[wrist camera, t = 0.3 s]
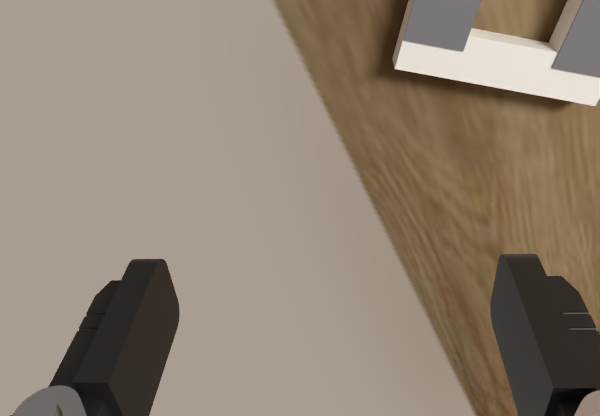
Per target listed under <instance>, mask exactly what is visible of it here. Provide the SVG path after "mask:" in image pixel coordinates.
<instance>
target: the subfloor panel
mask: <svg viewBox="0 0 600 416" xmlns="http://www.w3.org/2000/svg"><path fill="white" fill-rule="evenodd" d="M480 3H481V0H408V3H407V7H406V11H405V14H404V18H403V22H402V25H401V29H400V33H399V36H398V40H397V43H396V47H395V51H394V54H393V58H392V59H393V63H394V68H395V69H398V70H403V71H409V72H414V73H419V74H425V75H430V76H436V77H441V78H446V79H452V80H457V81H463V82H468V83H473V84H479V85H484V86H490V87H495V88H500V89H506V90H511V91H517V92H522V93H527V94H533V95H538V96H544V97H549V98H554V99H560V100H565V101H571V102H576V103H581V104H587V105H592V106H596V104H597V102H598V100H599V98H600V0H567V2H566V4H565V7H564V9H563V11H562V14H561V16H560V18H559V20H558V23H557V25H556V27H555V29H554V32H553V34H552V36H551V38H550V41H549V43H547V42H542V41H537V40H532V39H526V38H521V37H516V36H511V35H505V34H500V33H495V32H489V31H484V30H479V29H474V28H472V25H473V23H474V20H475V17H476V14H477V11H478V8H479V6H480Z"/></svg>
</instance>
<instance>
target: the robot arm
mask: <svg viewBox="0 0 600 416" xmlns="http://www.w3.org/2000/svg"><path fill="white" fill-rule="evenodd" d="M491 320H492V326H493V329H494V333H495V336H496V340H497V343H498V346H499V350H500V353H501V357H502V360H503V364H504V367H505V370H506V374H507V377H508V381H509V384H510V388H511V391H512V394H513V398H514V401H515V405H516V408H517V412H518V415H519V416H600V334H599V332H598V331H596V326H595V324H594V322H593V320H592V318H591V316H590V315H589V314H588V310H587V308H586V306H585V304H584V302H583V299H582V297H581V295H580V293H579V292H578V291H577V290H576V289H575V288H574V287H573V286H571V285H570V284H569V283H568V282H567V281H566V280H565V279H564V278H563V277H562V276H546V273H545V271H544V269H543V267H542V264H541V262H540V260H539V258H538V256H537V255H536V254H502V255H500V257H499V260H498V265H497V271H496V276H495V281H494V287H493V292H492V297H491ZM178 322H179V303H178V299H177V296H176V293H175V289H174V286H173V283H172V280H171V276H170V273H169V270H168V266H167V264H166V262H165V260H163V259H134V260H132V261H131V262H130V263H129V265H128V267H127V269H126V271H125V274H124V275H123V277H122V280H119V281H110V282H109V284H107V285H106V286H105V287H104V288H103V289H102V290H101V291H100V292H99V293H98V294H97V295H96V296H95V298H94V300H93V302H92V304H91V306H90V307H89V309H88V312H87V316H86V317H84V319H83V321H82V323H81V325H80V327H79V331H77V333H76V335H75V337H74V339H73V341H72V343H71V345H70V346H69V349H68V350H67V352H66V354H65V356H64V358H63V360H62V362H61V364H60V366H59V368H58V370H57V372H56V374H55V376H54V378H53V380H52V381H51V383H50V385H49V387H47V388H44V389H42V390H39V391H37V392H36V393H34V394H32V395H31V396H30V397H28V398H27V399H25V400H24V401H23V402H22V403H21V405H19V406H18V408H17V409H16V410H15V412H14V413H13V415H11V416H149V414H150V411H151V407H152V405H153V401H154V398H155V395H156V392H157V389H158V386H159V383H160V380H161V376H162V373H163V370H164V367H165V364H166V361H167V358H168V355H169V352H170V349H171V345H172V342H173V339H174V336H175V333H176V330H177V327H178Z"/></svg>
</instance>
